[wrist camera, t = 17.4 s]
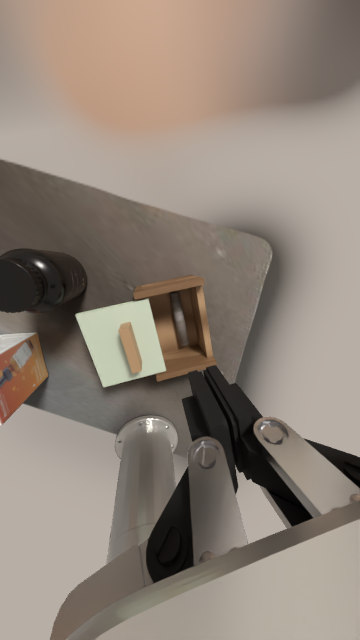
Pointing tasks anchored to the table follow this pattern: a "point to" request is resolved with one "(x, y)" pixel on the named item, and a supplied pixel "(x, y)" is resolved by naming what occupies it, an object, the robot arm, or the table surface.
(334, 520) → the robot arm
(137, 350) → the lid
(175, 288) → the brown wooden box
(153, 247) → the table surface
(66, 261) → the supplement bottle
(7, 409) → the small box
